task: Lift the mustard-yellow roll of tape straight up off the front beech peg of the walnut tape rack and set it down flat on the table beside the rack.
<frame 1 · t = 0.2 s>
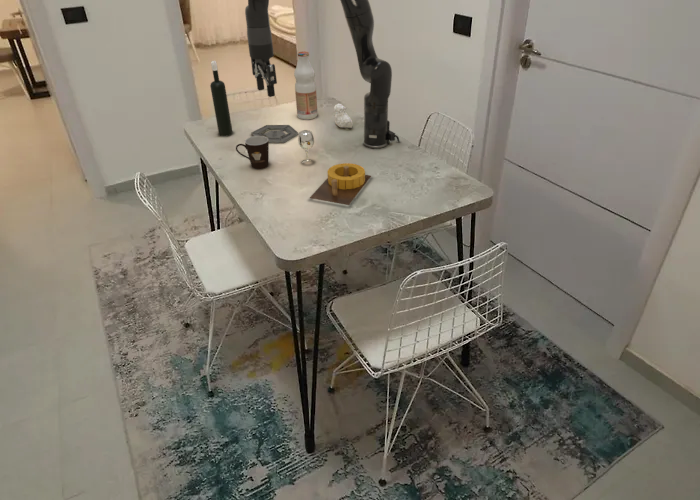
hand: (266, 93, 163), 29 cm above the table, tool pointing down, fingers open, 8 cm apart
tape: (346, 180, 171), point 1 cm above the table, touching tape rack
fruit juice: (307, 116, 226), on the table
bust: (342, 126, 215), on the table
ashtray: (274, 135, 209), on the table
wineglass: (307, 163, 186), on the table
tape rack: (341, 189, 168), on the table
wine bottle: (225, 134, 211), on the table
coffee mug: (256, 165, 185), on the table
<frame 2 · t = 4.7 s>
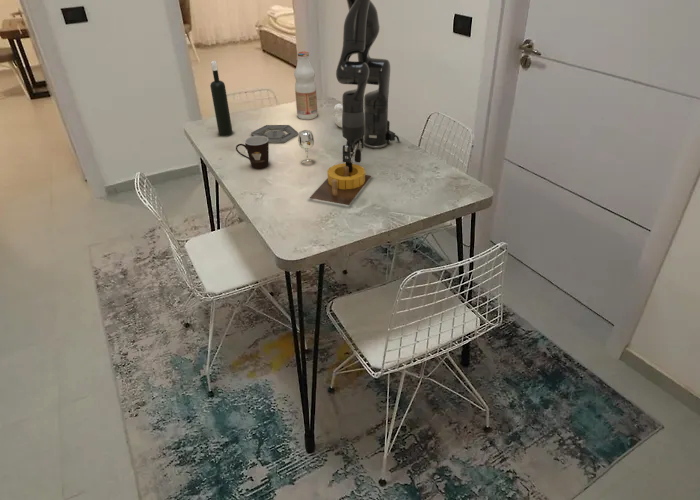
hand: (353, 166, 175), 3 cm above the table, tool pointing down, fingers open, 8 cm apart
nothing on the table moved.
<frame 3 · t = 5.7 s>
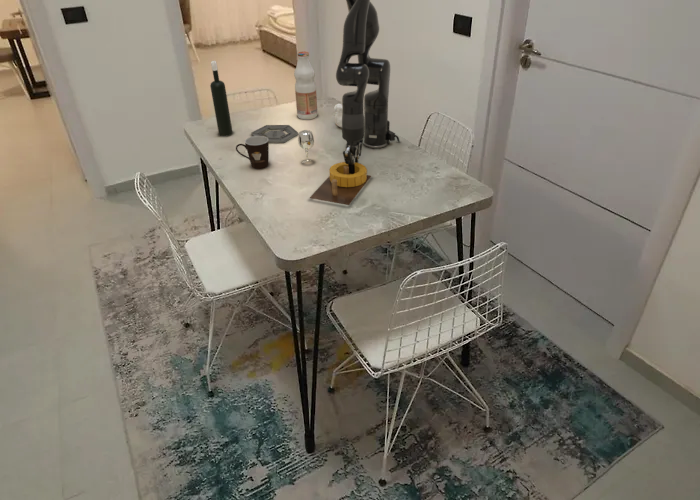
hand: (353, 171, 176), 2 cm above the table, tool pointing down, fingers closed on tape, 2 cm apart
tape: (348, 178, 172), point 1 cm above the table, touching gripper, tape rack
everything else where it was.
when the fingers open (1 cm above the table, at t = 12.6 s): tape stays where it is, on the table.
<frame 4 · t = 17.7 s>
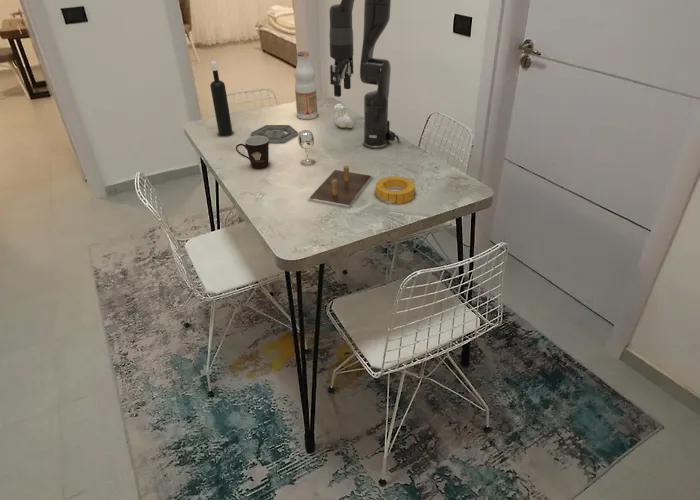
hand: (342, 92, 165), 28 cm above the table, tool pointing down, fingers open, 8 cm apart
tape: (394, 194, 165), on the table
everything else where it was.
at the end: tape inside the target area (0.1 cm from its centre), on the table; tape tilted 0°; the gripper is holding nothing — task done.
